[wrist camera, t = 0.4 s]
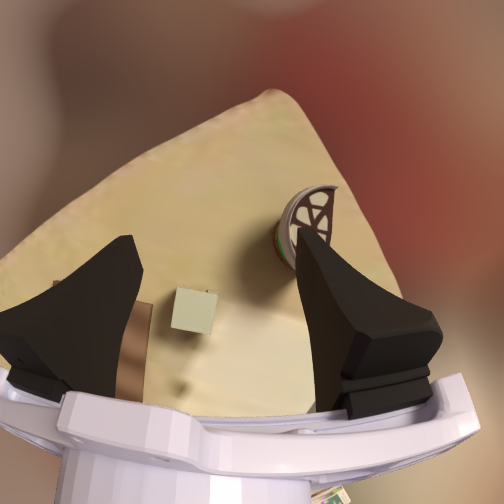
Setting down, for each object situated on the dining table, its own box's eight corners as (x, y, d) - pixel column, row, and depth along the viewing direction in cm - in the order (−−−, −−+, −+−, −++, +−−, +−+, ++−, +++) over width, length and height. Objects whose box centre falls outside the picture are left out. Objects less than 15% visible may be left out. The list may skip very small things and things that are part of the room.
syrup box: (320, 454, 40) (354, 501, 26) (291, 469, 39) (317, 520, 25) (309, 435, 40) (344, 484, 26) (278, 451, 39) (304, 505, 25)
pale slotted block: (210, 326, 39) (211, 334, 34) (175, 319, 38) (170, 327, 33) (216, 291, 39) (217, 294, 34) (181, 284, 39) (177, 287, 33)
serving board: (142, 403, 36) (140, 407, 35) (53, 375, 34) (49, 378, 33) (153, 304, 38) (151, 305, 36) (58, 280, 36) (53, 280, 34)
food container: (271, 192, 42) (291, 169, 32) (310, 200, 42) (339, 181, 33) (259, 275, 41) (276, 277, 31) (300, 281, 41) (328, 284, 32)
